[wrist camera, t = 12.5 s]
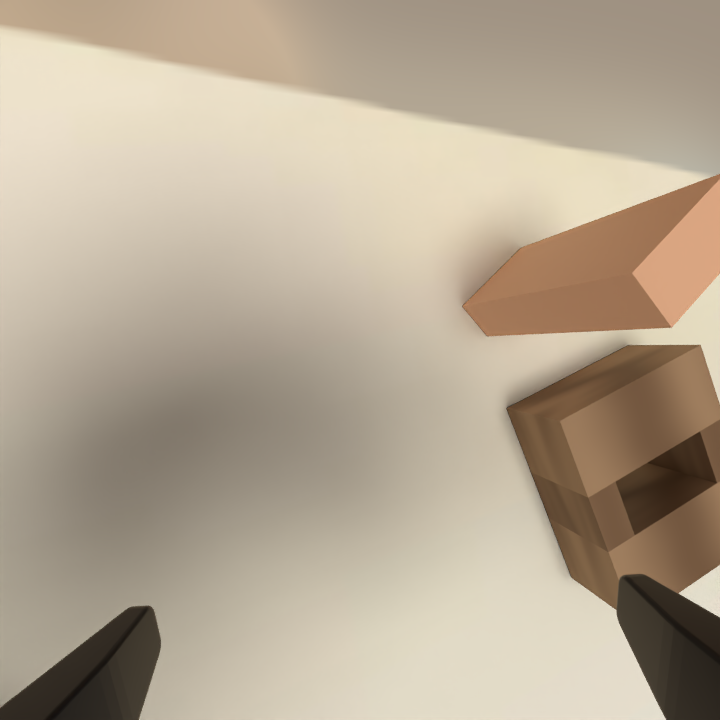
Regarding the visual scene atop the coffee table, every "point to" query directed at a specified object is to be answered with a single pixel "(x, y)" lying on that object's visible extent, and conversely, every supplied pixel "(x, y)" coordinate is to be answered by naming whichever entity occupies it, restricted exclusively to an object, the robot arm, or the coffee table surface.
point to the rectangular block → (610, 270)
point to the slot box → (629, 466)
